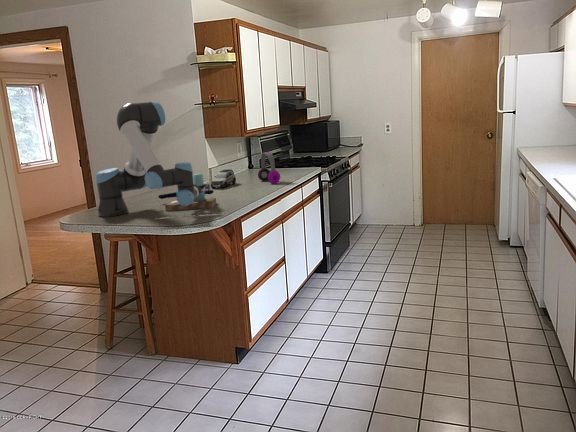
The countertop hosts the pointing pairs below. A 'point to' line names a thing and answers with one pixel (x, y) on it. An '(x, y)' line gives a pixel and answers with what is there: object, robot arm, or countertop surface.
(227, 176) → the toy car
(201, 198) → the peg
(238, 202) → the countertop surface
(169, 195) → the toy
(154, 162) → the robot arm
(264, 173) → the headphones
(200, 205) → the pocket block
